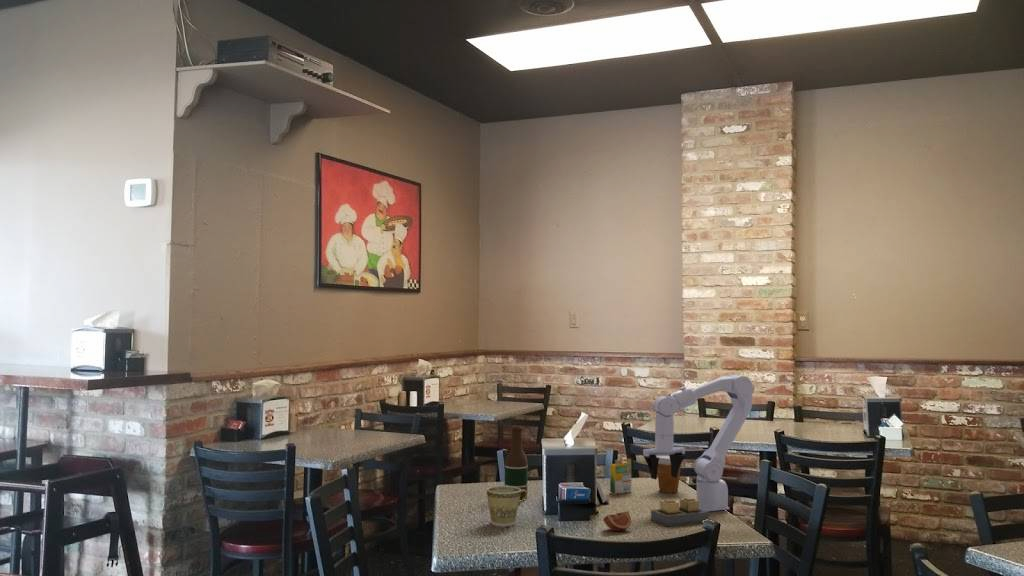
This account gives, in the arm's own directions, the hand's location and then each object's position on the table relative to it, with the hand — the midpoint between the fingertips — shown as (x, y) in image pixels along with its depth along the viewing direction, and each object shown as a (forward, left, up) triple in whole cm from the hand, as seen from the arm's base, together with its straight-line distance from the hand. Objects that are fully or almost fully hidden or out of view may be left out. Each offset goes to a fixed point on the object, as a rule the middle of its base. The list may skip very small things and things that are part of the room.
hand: (664, 477), depth 252 cm
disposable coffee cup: (-17, -22, -10) cm, 30 cm away
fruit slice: (+27, +16, -10) cm, 33 cm away
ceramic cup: (+53, -2, -10) cm, 54 cm away
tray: (+4, +14, -10) cm, 18 cm away
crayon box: (0, -26, -10) cm, 28 cm away
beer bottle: (+38, -30, -10) cm, 49 cm away
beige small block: (+8, +14, -10) cm, 19 cm away
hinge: (+16, -21, -10) cm, 28 cm away
